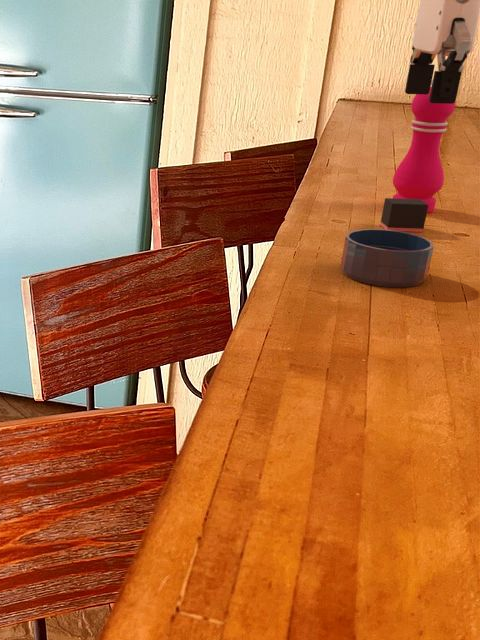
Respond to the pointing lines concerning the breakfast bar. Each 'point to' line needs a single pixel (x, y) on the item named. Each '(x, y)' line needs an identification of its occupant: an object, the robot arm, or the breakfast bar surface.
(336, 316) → the breakfast bar surface
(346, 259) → the bowl
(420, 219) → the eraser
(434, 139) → the pepper mill
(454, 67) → the robot arm
